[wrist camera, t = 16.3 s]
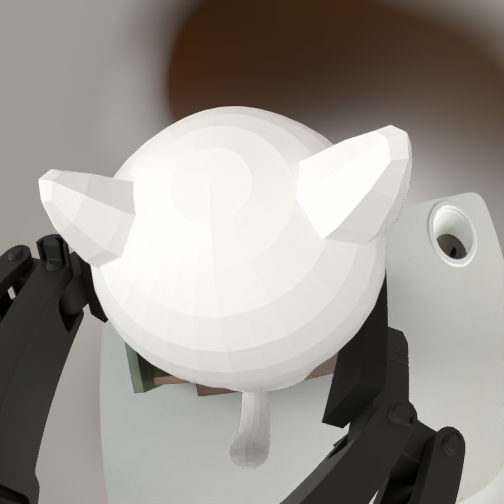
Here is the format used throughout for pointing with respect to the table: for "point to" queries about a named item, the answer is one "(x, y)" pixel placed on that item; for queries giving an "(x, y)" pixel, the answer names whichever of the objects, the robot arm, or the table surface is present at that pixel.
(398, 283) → the table surface
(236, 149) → the cat figurine
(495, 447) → the table surface
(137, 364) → the drawer
